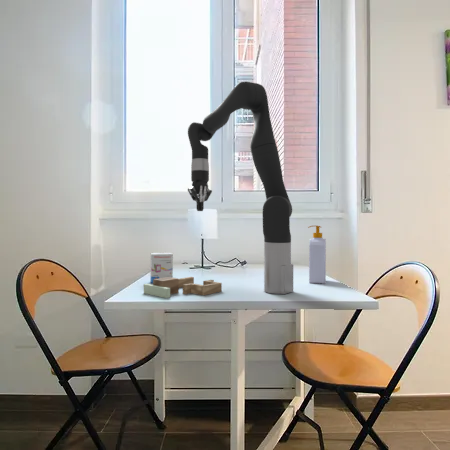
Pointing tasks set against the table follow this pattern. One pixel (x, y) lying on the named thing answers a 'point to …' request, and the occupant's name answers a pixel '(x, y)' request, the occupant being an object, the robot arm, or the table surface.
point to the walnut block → (168, 283)
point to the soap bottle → (317, 258)
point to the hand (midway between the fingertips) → (200, 211)
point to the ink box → (161, 265)
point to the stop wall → (157, 290)
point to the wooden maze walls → (199, 286)
